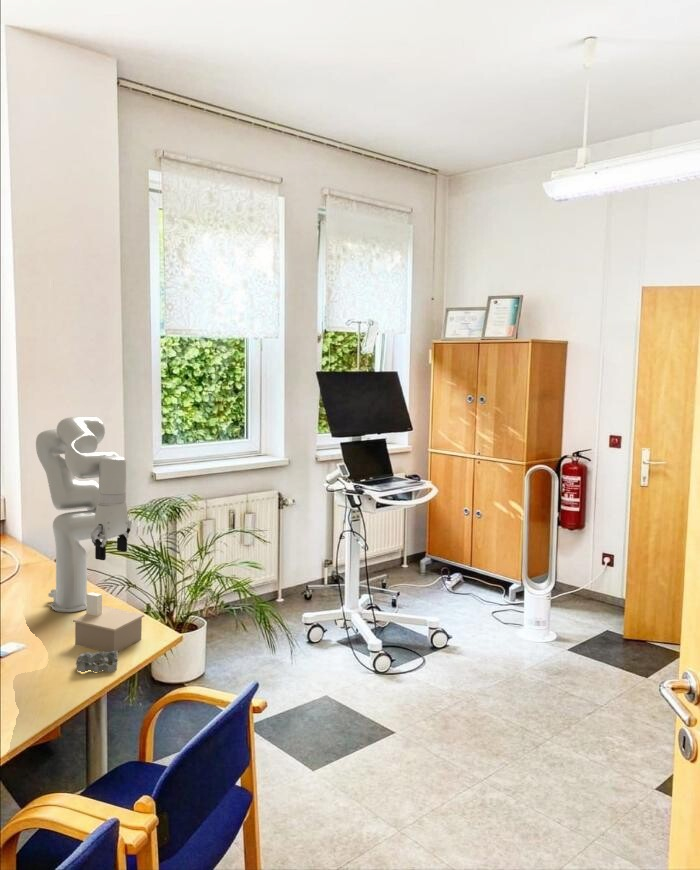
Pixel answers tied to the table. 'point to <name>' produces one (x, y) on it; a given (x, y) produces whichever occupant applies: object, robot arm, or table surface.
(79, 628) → the carton
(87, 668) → the egg carton
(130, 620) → the lid
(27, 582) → the table surface
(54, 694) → the table surface
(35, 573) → the table surface
